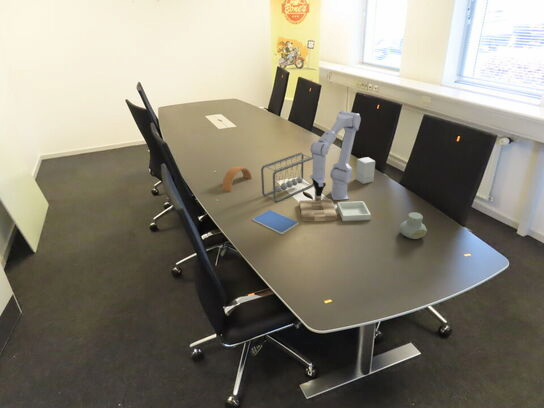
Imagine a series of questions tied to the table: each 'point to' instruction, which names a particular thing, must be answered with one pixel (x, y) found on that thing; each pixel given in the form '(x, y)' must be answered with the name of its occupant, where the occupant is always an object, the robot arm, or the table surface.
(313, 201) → the pin plate
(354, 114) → the robot arm
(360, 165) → the supplement box
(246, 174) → the arch
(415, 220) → the air freshener
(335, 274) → the table surface
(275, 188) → the newton's cradle
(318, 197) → the pin
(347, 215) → the tray
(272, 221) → the tablet computer
